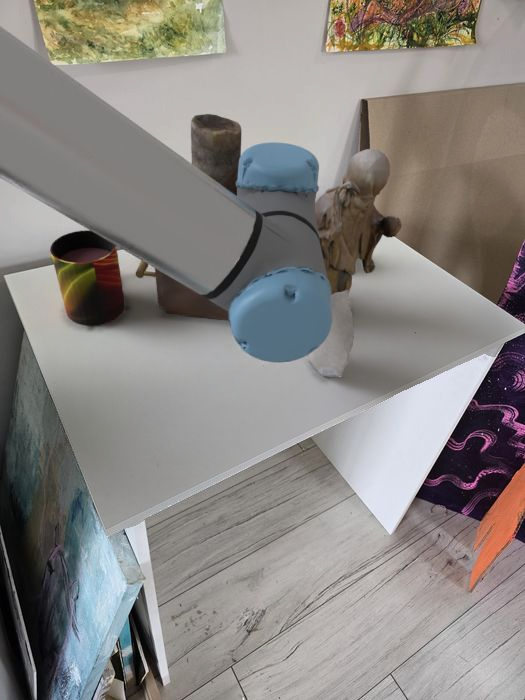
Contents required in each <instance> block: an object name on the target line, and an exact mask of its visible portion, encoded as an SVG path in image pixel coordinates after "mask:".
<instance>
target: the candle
mask: <svg viewBox="0 0 525 700" xmlns="http://www.w3.org/2000/svg"><path fill="white" fill-rule="evenodd" d="M190 151H191V152H190V153H191V164H193V165H194V166H195V167H197V168H198V169H200V170H201V171H202V172H204V173H205V174H207V175H208V176H209V177H211V178H212V179H214V180H215V181H216V182H218V183H219V184H220V185H222V186H223V187H225V188H226V189H227V190H229V191H230V192H232V193H233V194H234V195H236V196H237V186H236V182H237V180H238V167H239V159H240V157H241V155H242V126H241V124H240V123H239V122H238V121H235V120H232V119H230V118H227V117H223V116H220V115H217V114H211V113H205V114H204V113H203V114H195V115H194V116H193V117H192V118H191V119H190Z"/></svg>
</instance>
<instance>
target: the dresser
mask: <svg viewBox="0 0 525 700" xmlns="http://www.w3.org/2000/svg"><path fill="white" fill-rule="evenodd" d="M162 284H163V296H164V314H165V315H171V316H180V317H181V316H182V317H191V318H200V319H201V318H202V319H210V320H211V319H212V320H222V321H230V320H229V319H228V311H227V310H225V309H223V308H222V307H220V306H218V305H216V304H215V303H213V302H211V301H210V300H209V299H207V298H205V297H204V296H202V295H200V294H198V293H197V292H195V291H193V290H192V289H190V288H188V287H186V286H185V285H183V284H181V283H180V282H178V281H176V280H174V279H173V278H171V277H169V276H168V275H166V274H164V273H162Z"/></svg>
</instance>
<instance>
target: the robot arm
mask: <svg viewBox="0 0 525 700" xmlns="http://www.w3.org/2000/svg"><path fill="white" fill-rule="evenodd" d="M319 173H320V163H319V161H318V159H317V156H315V155H314V154H313V153H312V152H311V151H310V150H308V149H306V148H304V147H302V146H299V145H297V144H292V143H286V142H274V141H273V142H270V141H269V142H261V143H257V144H254V145H252V146H249V147H247V148H246V149H244V151H243V152H241V157H240V159H239V167H238V180H237V182H236V186H237V196H236V195H234V194H233V193H232V192H230V191H229V190H227V189H226V188H225V187H223V186H222V185H220V184H219V183H218V182H216V181H215V180H214V179H212V178H211V177H209V176H208V175H207V174H205V173H204V172H202V171H201V170H200V169H198V168H197V167H195V166H194V165H193V164H192V162H191V161H188V160H187V159H186V158H184V157H183V156H182V155H180V153H178V152H176V151H175V150H173V149H172V148H171V147H169V146H168V145H166V144H165V143H163V142H162V141H161V140H160V139H158V138H157V137H155V136H154V135H152V134H151V133H150V132H149V131H147V130H145V129H144V128H143V127H142V126H140V125H139V124H137V123H136V122H135V121H133V120H132V119H130V118H129V117H127V116H126V115H125V114H123V113H122V112H121V111H119V110H118V109H116V108H115V107H114V106H113V105H111V104H109V103H108V102H107V101H106V100H104V99H102V98H101V97H100V96H98V95H97V94H96V93H94V92H93V91H91V90H90V89H89V88H88V87H86V86H85V85H83V84H81V82H79V81H77V80H76V79H75V78H74V77H72V76H71V75H69V74H68V73H66V72H65V71H64V70H62V69H61V68H59V67H58V66H57V65H55V64H54V63H52V62H51V61H50V60H48V59H47V58H45V57H44V56H43V55H41V54H40V53H39V52H38V51H36V50H34V49H33V48H32V47H30V46H28V45H27V44H26V43H25V42H23V41H22V40H21V39H19V38H18V37H17V36H15V35H13V34H12V33H11V32H9V31H8V30H6V29H5V28H4V27H2V26H1V25H0V179H1V180H3V181H5V182H6V183H8V184H10V185H12V186H13V187H15V188H17V189H19V190H20V191H22V192H24V193H25V194H27V195H29V196H31V197H33V198H34V199H36V200H37V201H38V202H41V203H43V204H44V205H45V206H48V207H49V208H51V209H53V210H55V211H56V212H58V213H59V214H62V215H63V216H64V217H66V218H67V219H70V220H72V221H73V222H75V223H76V224H78V225H80V226H82V227H84V228H85V229H86V230H90V231H92V232H94V233H96V234H97V235H99V236H101V237H102V238H104V239H106V240H108V241H109V242H111V243H113V244H114V245H116V247H118V248H119V249H121V250H123V251H125V252H126V253H128V254H130V255H131V256H134V257H135V258H137V259H138V260H140V261H141V260H142V261H144V262H145V263H147V264H149V265H148V266H150V267H153V268H154V269H155V268H156V269H157V270H159V271H161V272H162V273H164V274H166V275H168V276H169V277H171V278H173V279H174V280H176V281H178V282H180V283H181V284H183V285H185V286H186V287H188V288H190V289H192V290H193V291H195V292H197V293H198V294H200V295H202V296H204V297H205V298H207V299H209V300H210V301H211V302H213V303H215V304H216V305H218V306H220V307H222V308H223V309H225V310H227V311H228V319H229V320H228V321H229V325H230V329H231V335H232V336H233V338H234V340H235V342H236V343H237V344H238V346H239V347H240V349H241V350H242V351H244V352H245V353H246V354H248V355H249V356H250V357H252V358H254V359H256V360H261V361H264V362H269V363H279V364H281V363H289V362H293V361H297V360H301V359H303V358H305V357H307V355H309V354H310V353H312V352H313V351H314V350H316V349H317V348H318V347H319V346H320V345H321V344H322V343H323V342H324V341H325V339H326V338H327V336H328V334H329V332H330V328H331V325H332V307H331V286H330V283H329V280H328V278H327V273H326V268H325V264H324V259H323V255H322V250H321V244H320V238H319V232H318V227H317V221H316V216H315V205H316V198H317V193H318V192H319V191H320V190H319V188H320V187H319V183H318V182H319Z"/></svg>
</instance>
